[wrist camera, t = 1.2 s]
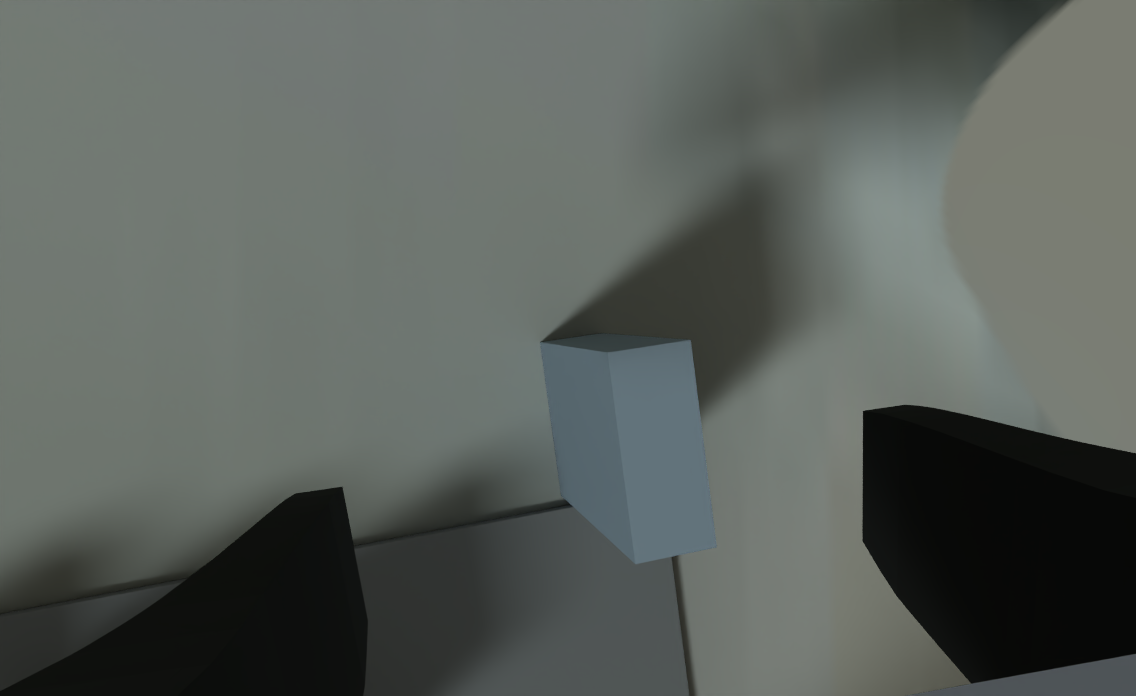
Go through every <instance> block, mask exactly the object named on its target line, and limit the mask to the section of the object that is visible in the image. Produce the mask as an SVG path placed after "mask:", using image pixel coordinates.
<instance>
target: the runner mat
mask: <svg viewBox="0 0 1136 696" xmlns="http://www.w3.org/2000/svg"><path fill="white" fill-rule="evenodd" d="M354 550H355V555H356V561H357V566H358V571H359V576H360V581H361V587H362V592H363V597H364V602H365V607H366V613H367V618H368V635H367V659H366V676H365V688H364V694H363V696H689V689H688V681H687V674H686V666H685V658H684V650H683V643H682V635H681V627H680V620H679V612H678V604H677V596H676V589H675V581H674V573H673V565H672V558H671V557H668V558H663V559H658V560H653V561H649V562H644V563H639V564H635V563H634V562H632V561H631V560H630V559H629V558H628V557H627V556H626V555H625V554H624V553H623V552H622V551H621V550H619V549H618V548H617V547H616V546H615V545H614V544H613V543H612V542H611V541H610V540H609V539H608V538H606V537H605V536H604V535H603V534H602V533H601V532H600V531H599V530H598V529H597V528H596V527H595V526H594V525H592V524H591V523H590V522H589V521H588V520H587V519H586V518H585V517H584V516H583V515H582V514H581V513H579V512H578V511H577V510H576V509H575V508H574V507H573V506H572V505H567V506H562V507H557V508H551V509H546V510H541V511H536V512H530V513H525V514H520V515H515V516H510V517H504V518H499V519H494V520H489V521H483V522H478V523H473V524H468V525H463V526H457V527H452V528H447V529H442V530H436V531H431V532H426V533H421V534H416V535H410V536H405V537H400V538H395V539H389V540H384V541H379V542H374V543H369V544H363V545H358V546H354ZM186 579H187V578H186ZM186 579H181V580H175V581H170V582H165V583H160V584H155V585H149V586H144V587H139V588H134V589H128V590H123V591H118V592H113V593H108V594H102V595H97V596H92V597H87V598H81V599H76V600H71V601H66V602H61V603H55V604H50V605H45V606H40V607H34V608H29V609H24V610H19V611H14V612H8V613H3V614H0V691H1V690H3V689H5V688H7V687H9V686H11V685H13V684H15V683H17V682H19V681H21V680H23V679H25V678H27V677H29V676H31V675H32V674H34V673H36V672H38V671H40V670H42V669H44V668H46V667H48V666H50V665H52V664H54V663H56V662H58V661H60V660H62V659H64V658H65V657H67V656H69V655H71V654H73V653H75V652H77V651H78V650H80V649H82V648H84V647H85V646H87V645H89V644H91V643H92V642H94V641H96V640H97V639H99V638H100V637H102V636H104V635H105V634H107V633H109V632H110V631H112V630H114V629H115V628H117V627H119V626H120V625H122V624H123V623H125V622H127V621H128V620H130V619H131V618H133V617H134V616H136V615H137V614H139V613H140V612H142V611H143V610H145V609H146V608H148V607H149V606H151V605H152V604H154V603H155V602H157V601H158V600H159V599H161V598H162V597H163V596H165V595H166V594H167V593H169V592H170V591H171V590H173V589H174V588H175V587H177V586H178V585H179V584H181V583H182V582H183V581H185V580H186Z"/></svg>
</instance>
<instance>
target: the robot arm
mask: <svg viewBox="0 0 1136 696" xmlns="http://www.w3.org/2000/svg"><path fill="white" fill-rule="evenodd" d="M863 543H864V544H865V546H866V548H867V549H868V551H869V553H870V554H871V556H872V558H873V559H874V561H875V563H876V564H877V566H878V568H879V569H880V571H881V573H882V574H883V576H884V577H885V579H886V580H887V582H888V583H889V585H890V586H891V588H892V589H893V591H894V593H895V594H896V596H897V597H898V598H899V599H900V601H901V602H902V603H903V604H904V606H905V607H906V608H907V609H908V610H909V612H910V613H911V614H912V615H913V616H914V617H915V619H916V620H917V621H918V622H919V623H920V625H921V626H922V627H923V628H924V629H925V630H926V632H927V633H928V634H929V635H930V636H931V638H932V639H933V640H934V641H935V642H936V643H937V645H938V646H939V647H940V648H941V649H942V650H943V651H944V653H945V654H946V655H947V656H948V657H949V658H950V659H951V661H952V662H953V663H954V664H955V665H956V666H957V668H958V669H959V670H960V671H961V672H962V673H963V674H964V676H965V677H966V678H967V679H968V680H969V681H970V683H971V684H967V685H962V686H956V687H951V688H945V689H940V690H934V691H929V692H923V693H918V694H912V695H907V696H1136V453H1131V452H1126V451H1121V450H1116V449H1111V448H1106V447H1101V446H1097V445H1092V444H1087V443H1082V442H1078V441H1073V440H1069V439H1064V438H1060V437H1056V436H1051V435H1047V434H1043V433H1039V432H1035V431H1030V430H1026V429H1022V428H1018V427H1014V426H1010V425H1006V424H1002V423H998V422H994V421H990V420H985V419H981V418H977V417H973V416H969V415H964V414H960V413H956V412H951V411H946V410H941V409H936V408H930V407H923V406H914V405H900V406H893V407H887V408H880V409H873V410H866V411H863ZM367 635H368V618H367V613H366V607H365V602H364V597H363V592H362V587H361V581H360V576H359V571H358V566H357V561H356V555H355V550H354V545H353V540H352V535H351V529H350V524H349V519H348V514H347V508H346V503H345V498H344V493H343V488H342V487H338V488H331V489H324V490H317V491H310V492H303V493H296V494H294V495H292V496H291V497H289V498H287V499H286V500H285V501H283V502H282V503H281V504H279V505H278V506H277V507H276V508H274V509H273V510H272V511H271V512H269V513H268V514H267V515H266V516H265V517H263V518H262V519H261V520H260V521H259V522H257V523H256V524H255V525H254V526H253V527H251V528H250V529H249V530H248V531H247V532H245V533H244V534H243V535H242V536H241V537H239V538H238V539H237V540H236V541H235V542H233V543H232V544H231V545H230V546H229V547H227V548H226V549H225V550H224V551H222V552H221V553H220V554H219V555H218V556H216V557H215V558H214V559H213V560H211V561H210V562H209V563H207V564H206V565H205V566H203V567H202V568H201V569H199V570H198V571H197V572H195V573H194V574H193V575H191V576H190V577H189V578H187V579H186V580H185V581H183V582H182V583H181V584H179V585H178V586H177V587H175V588H174V589H173V590H171V591H170V592H169V593H167V594H166V595H165V596H163V597H162V598H161V599H159V600H158V601H157V602H155V603H154V604H152V605H151V606H149V607H148V608H146V609H145V610H143V611H142V612H140V613H139V614H137V615H136V616H134V617H133V618H131V619H130V620H128V621H127V622H125V623H123V624H122V625H120V626H119V627H117V628H115V629H114V630H112V631H110V632H109V633H107V634H105V635H104V636H102V637H100V638H99V639H97V640H96V641H94V642H92V643H91V644H89V645H87V646H85V647H84V648H82V649H80V650H78V651H77V652H75V653H73V654H71V655H69V656H67V657H65V658H64V659H62V660H60V661H58V662H56V663H54V664H52V665H50V666H48V667H46V668H44V669H42V670H40V671H38V672H36V673H34V674H32V675H31V676H29V677H27V678H25V679H23V680H21V681H19V682H17V683H15V684H13V685H11V686H9V687H7V688H5V689H3V690H1V691H0V696H363V694H364V688H365V676H366V659H367Z"/></svg>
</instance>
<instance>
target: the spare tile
mask: <svg viewBox="0 0 1136 696" xmlns="http://www.w3.org/2000/svg"><path fill="white" fill-rule="evenodd" d="M540 345H541V352H542V359H543V367H544V374H545V381H546V388H547V396H548V403H549V410H550V418H551V425H552V432H553V439H554V447H555V454H556V461H557V469H558V476H559V483H560V490H561V496H562V497H563V498H564V499H565V500H566V501H568V502H569V503H570V504H571V505H572V506H573V507H574V508H575V509H576V510H577V511H578V512H579V513H581V514H582V515H583V516H584V517H585V518H586V519H587V520H588V521H589V522H590V523H591V524H592V525H594V526H595V527H596V528H597V529H598V530H599V531H600V532H601V533H602V534H603V535H604V536H605V537H606V538H608V539H609V540H610V541H611V542H612V543H613V544H614V545H615V546H616V547H617V548H618V549H619V550H621V551H622V552H623V553H624V554H625V555H626V556H627V557H628V558H629V559H630V560H631V561H632V562H634V563H635V564H639V563H644V562H649V561H653V560H658V559H663V558H668V557H672V556H677V555H682V554H687V553H691V552H696V551H701V550H706V549H710V548H715V547H717V545H716V537H715V529H714V521H713V514H712V506H711V498H710V490H709V482H708V474H707V466H706V458H705V450H704V442H703V434H702V426H701V418H700V410H699V402H698V394H697V386H696V378H695V370H694V362H693V354H692V346H691V340H686V339H673V338H659V337H646V336H633V335H619V334H606V333H599V334H593V335H586V336H579V337H572V338H566V339H559V340H552V341H545V342H540Z"/></svg>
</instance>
